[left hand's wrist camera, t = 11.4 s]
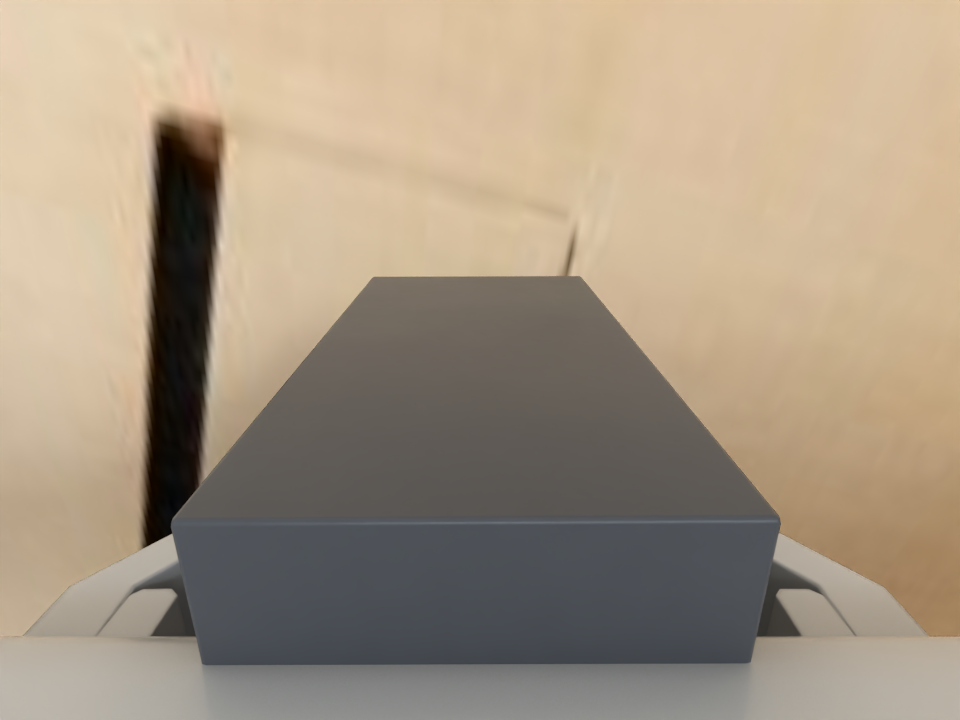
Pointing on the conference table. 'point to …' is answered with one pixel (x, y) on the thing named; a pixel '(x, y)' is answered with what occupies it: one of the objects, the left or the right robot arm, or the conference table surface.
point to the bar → (476, 497)
